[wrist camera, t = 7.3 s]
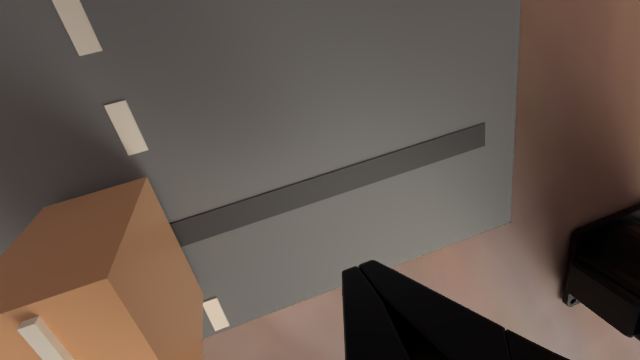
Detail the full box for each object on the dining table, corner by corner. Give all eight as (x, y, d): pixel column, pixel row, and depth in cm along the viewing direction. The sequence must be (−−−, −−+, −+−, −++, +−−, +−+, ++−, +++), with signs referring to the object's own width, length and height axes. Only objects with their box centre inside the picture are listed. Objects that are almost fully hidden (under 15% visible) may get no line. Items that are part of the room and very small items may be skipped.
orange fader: (146, 176, 11) (104, 285, 7) (202, 293, 13) (200, 434, 9) (43, 206, 11) (-80, 347, 6) (120, 322, 13) (72, 489, 8)
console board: (472, -387, 10) (546, -502, 8) (476, 199, 19) (511, 222, 17) (-410, -342, 7) (-700, -513, 5) (90, 338, 16) (71, 389, 14)
